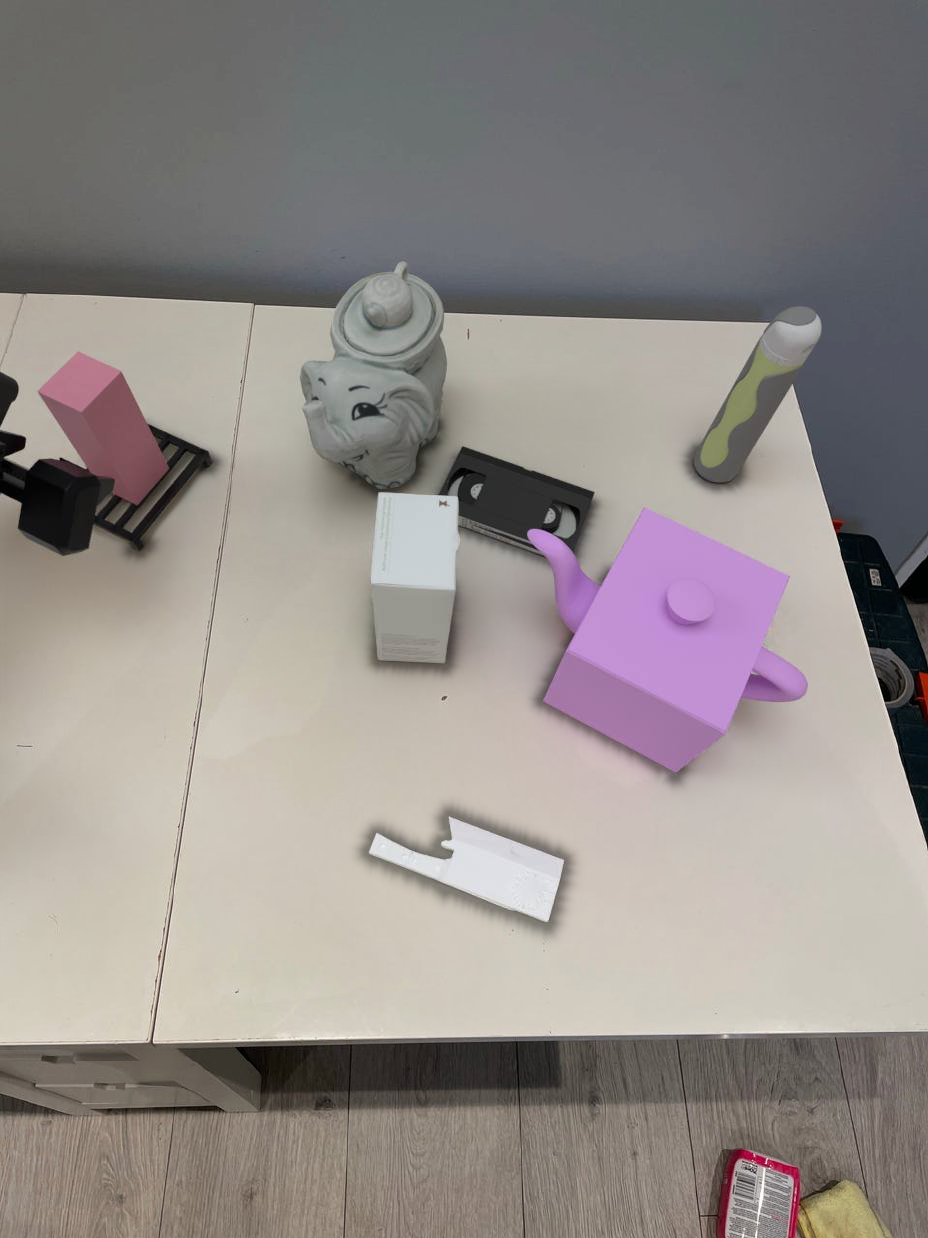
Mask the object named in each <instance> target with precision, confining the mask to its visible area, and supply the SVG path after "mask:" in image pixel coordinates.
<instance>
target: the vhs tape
mask: <svg viewBox="0 0 928 1238" xmlns="http://www.w3.org/2000/svg"><path fill="white" fill-rule="evenodd" d="M438 495H441V496H457V497H458V500H459V512H458V527H461V528H463V529H466V530H469V531H472V532H474V533H478V534H480V535H482V536H485V537H489V538H490V539H494V540H497V541H499V542H503V543H505V544H507V545H511V546H513V547H516V548H519V549H522V550H525V551H527V552H530V553H533V554H536V555H539V556H542V557H544V558H546V557H545V556H544V555H543V554H542V553H541V552H540V551H539V550H538V549H537V548H536V547H535V546H534V545H533V544H532V543H531V542H530V540H529V539H528V536H527V533H528V531H529V530H531V529H539V530H543V531H546V532H548V533H550V534H552V535H554V536H556V537H557V538H559V539H560V540H561V541H563V542H564V543H565V544H566V545H567V546H568V547H569V548H570V550H571V551H572V552H573V551H574V549H575V546H576V544H577V541H578V538H579V535H580V533H581V530H582V527H583V525H584V522H585V519H586V517H587V514H588V512H589V509H590V506H591V504H592V501H593V498H594V497H595V491H593V490H590V489H588V488H585V487H581V486H579V485H576V484H573V483H570V482H568V481H564V480H561V479H559V478H555V477H553V476H550V475H547V474H544V473H542V472H538V471H535V470H529V469H527V468H525V467H524V466H521V465H519V464H515V463H512V462H510V461H507V460H504V459H501V458H499V457H496V456H492V455H490V454H487V453H483V452H481V451H478V450H475V449H472V448H470V447H467V446H463V445H462V446H461V447H460V450H459V452H458V454H457V457H456V458H455V460H454V462H453V464H452V466H451V468H450V471H448V474H447V477H446V479H445V480H444V482H443V484H442V487H441V489H440V491H439V493H438Z"/></svg>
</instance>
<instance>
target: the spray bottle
mask: <svg viewBox="0 0 928 1238" xmlns="http://www.w3.org/2000/svg"><path fill="white" fill-rule="evenodd" d="M822 331H823V329H822V320H821V317H820V316H819V315H818V314H817V313H816V311H815V310H814V309H813V308H811V307H808V306H804V305H795V306H791V307H789V308H787V309H785V310H783V311H781V312H779V313H778V314H776V315H775V316H774V318H773V319H772V320H771V321H770V322H769V324H768V325H767V326H766V327H765V329H764V330H763V333H762V335H761V336H760V337H759V338H758V341H756V344H755V346H754V348H753V349H752V351H751V353H750V355H749V357H748V358H747V360H746V362H745V364H744V365H743V367H742V369H741V370H740V373H739V375H738V376H737V378H736V379H735V381H734V383H733V385H732V386H731V388H730V391H729V392H728V394H727V396H726V397H725V399H724V401H723V403H722V404H721V406H720V408H719V410H718V411H717V414H716V416H715V417H714V419H713V420H712V423H711V424H710V426H709V428H708V430H707V431H706V433H705V435H704V437H703V439H702V441H701V442H700V444H699V446H698V448H697V449H696V451H695V453H694V456H693V465H694V469H695V470H696V472H697V474H698V475H700V476H701V478H703V479H705V480H707V481H708V482H711V483H717V484H718V483H719V484H723V483H727V482H729V481H732V480H733V479H734V478H735V477H737V476H738V474H739V472H740V471H741V469H742V468H743V466H744V464H745V463H746V461H747V459H748V458H749V456H750V454H751V452H752V451H753V450H754V447H756V445H757V443H758V442H759V439H760V438H761V436H762V435H763V433H764V432H765V430H766V428H767V426H768V425H769V423H770V422H771V420H772V418H773V417H774V415H775V413H776V412H777V410H778V409H779V407H780V405H781V404H782V402H783V400H784V399H785V397H786V395H787V394H788V392H789V391H790V389H791V387H793V385H794V383H795V381H796V379H797V377H798V376H799V374H800V373H801V371H802V369H803V368H804V366H805V362H806V360H807V359H808V357H809V355H810V354H811V353H812V352H813V349H814V348H815V346H816V344H817V343H818V342H819V340H820V337H821V334H822Z"/></svg>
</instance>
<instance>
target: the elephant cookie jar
mask: <svg viewBox="0 0 928 1238" xmlns="http://www.w3.org/2000/svg"><path fill="white" fill-rule="evenodd" d="M409 271H410V267H409V264H408V263H407V262H406V261H405V260H404V261H400V262H398V263H397V265H396V266H395V269H394V271H384V272H379V273H374V274H371V275H368V276H366V277H363V278H361V279H359V280H358V281H357V282H355V283H354V284H353V285H351V286H350V287H349V288H348V290H347V291H346V292H345V293H344V295H343V296H342V297H341V298H340V300H339V302H338V303H337V305H336V306H335V309H334V311H333V314H332V319H331V325H330V331H329V336H330V340H331V345H332V348H333V350H334V351H335V352H334V354H333V359H331V360H307V361H305V362H304V363H303V364H302V366H301V367H300V368H301V370H300V376H299V379H300V386H301V391H302V395H303V396H304V399H305V403H303V405H302V406H301V410H302V412H303V415H304V417H305V419H306V424H307V428H308V434H309V439H310V442H311V445H312V447H313V449H314V451H315V453H316V455H318V456H319V458H322V459H323V460H325V461H328V462H330V463H339V464H340V465H341V466H342V467H344V468H346V469H348V470H350V471H351V472H353V473H355V474H358V475H359V476H361V477H362V478H363V479H364V480H365V481H366V482H367V483H368V484H370V485H371V486H373V487H375V488H376V489H379V490H390V489H395V488H398V487H401V486H402V485H404V484H406V483H407V482H409V481H410V480H411V479H412V478H413V476H414V475H415V472H416V467H417V460H416V459H417V455H418V452H419V450H420V449H421V448H423V447H424V446H426V445H428V444H429V443H430V442H432V441H433V440H434V439H435V437H436V435H437V433H438V430H439V416H440V414H441V409H442V405H443V396H444V394H443V388H444V385H445V382H446V376H447V368H448V358H447V353H446V348H445V345H444V342H443V340H442V338H441V334H442V332H443V331H444V323H445V309H444V305H443V302H442V300H441V298H440V296H439V295H438V293H437V291H435V289H434V288H433V287H432V286H431V285H430V284H429V283H427V282H426V281H425V280H423V279H422V278H420V277H418V276H417V275H413V274H411V273H409Z"/></svg>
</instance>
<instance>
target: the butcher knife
mask: <svg viewBox="0 0 928 1238" xmlns="http://www.w3.org/2000/svg"><path fill="white" fill-rule="evenodd" d="M448 824H449V829H450V836H451V839H450V840H448V839H445V840H443V841H441V843H440V846H441V847H442V848H444V849H447V850H449V851H452V852H453V853H452V855H451V857H449V858H445V859H443V858H439V857H436V856H431V855H428V854H427V855H426V854H424V853H420V852H417V851H414V850H411V849H410V848H407V847H405V846H403V845H401V844H399V843H397V842H395V841H393V840H392V839H389V838H388V837H386V836H385V835H382V834H381V833H379V832H376V834H375V835H374V838H373V840H372V843H371V846H370V848H369V850H368V855H371V856H372V857H373V856H374V857H376V858H378V859H380V860H381V859H382V860H384V861H386V862H388V863H391V864H394V865H397V866H399V867H402V868H405V869H407V870H410V871H412V872H415V873H417V874H420V875H423V876H424V877H428V878H430V879H433V880H436V881H438V882H440V883H442V884H445V885H447V886H450V887H452V888H455V889H457V890H460V891H461V892H463V893H464V892H465V893H468V894H469V895H472V896H474V897H476V898H479V899H481V900H483V901H486V902H489V903H492V904H494V905H496V906H499V907H500V908H504V909H506V910H509V911H512V912H514V911H516V912H519V913H520V914H524V915H525V916H529V917H531V918H534V919H537V920H539V921H542V922H544V923H548V922H549V919H550V916H551V913H552V910H553V906H554V904H555V899H556V895H557V891H558V888H559V885H560V881H561V877H562V872H563V868H564V863H565V859H562V858H560V857H557V856H554V855H552V854H549V853H547V852H544V851H541V850H539V849H536V848H534V847H531V846H528V845H526V844H523V843H520V842H518V841H516V840H515V841H514V840H512V839H509V838H507V837H504V836H501V835H499V834H497V833H494V832H492V831H488V830H485V829H483V828H480V827H477V826H476V825H472V824H470V823H467V822H464V821H462V820H459V819H457V818H454V817H451V816H448Z"/></svg>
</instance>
